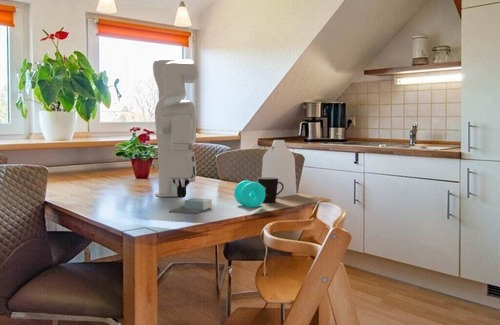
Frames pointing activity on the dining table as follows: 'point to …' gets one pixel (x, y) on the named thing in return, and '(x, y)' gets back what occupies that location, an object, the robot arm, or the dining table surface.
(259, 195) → the teal spool
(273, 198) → the coffee mug
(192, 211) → the mat
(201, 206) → the slab
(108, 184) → the dining table surface
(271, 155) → the milk
